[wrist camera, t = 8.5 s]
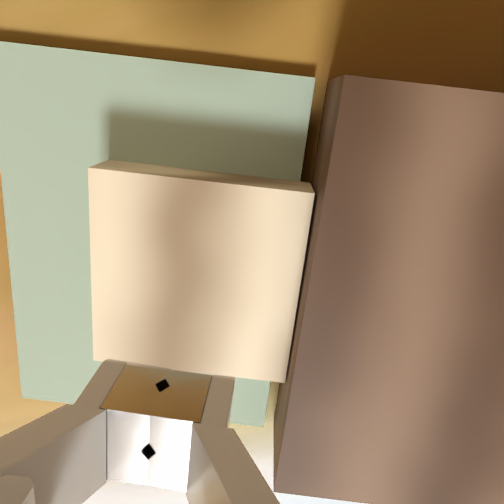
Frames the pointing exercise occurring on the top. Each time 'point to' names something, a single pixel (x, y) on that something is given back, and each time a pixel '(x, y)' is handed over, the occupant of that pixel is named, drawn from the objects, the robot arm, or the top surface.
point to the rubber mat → (120, 149)
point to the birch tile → (196, 268)
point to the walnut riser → (400, 302)
